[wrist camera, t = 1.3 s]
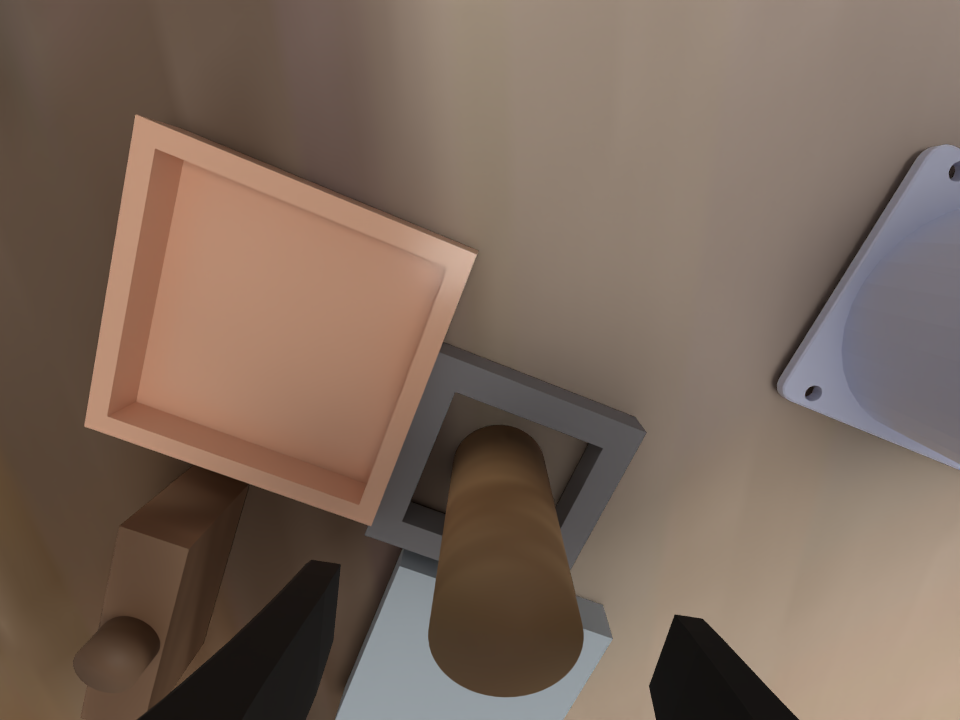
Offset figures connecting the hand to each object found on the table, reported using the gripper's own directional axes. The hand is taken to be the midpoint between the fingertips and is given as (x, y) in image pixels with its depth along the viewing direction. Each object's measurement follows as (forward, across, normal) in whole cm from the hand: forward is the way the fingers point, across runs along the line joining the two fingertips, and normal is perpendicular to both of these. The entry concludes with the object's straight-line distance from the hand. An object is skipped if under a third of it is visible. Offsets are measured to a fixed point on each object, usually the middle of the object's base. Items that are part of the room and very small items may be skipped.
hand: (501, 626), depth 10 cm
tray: (+7, +7, -4) cm, 11 cm away
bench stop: (+7, +10, +6) cm, 14 cm away
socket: (+7, 0, 0) cm, 7 cm away
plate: (+7, 0, +8) cm, 11 cm away
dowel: (+7, 0, 0) cm, 7 cm away
